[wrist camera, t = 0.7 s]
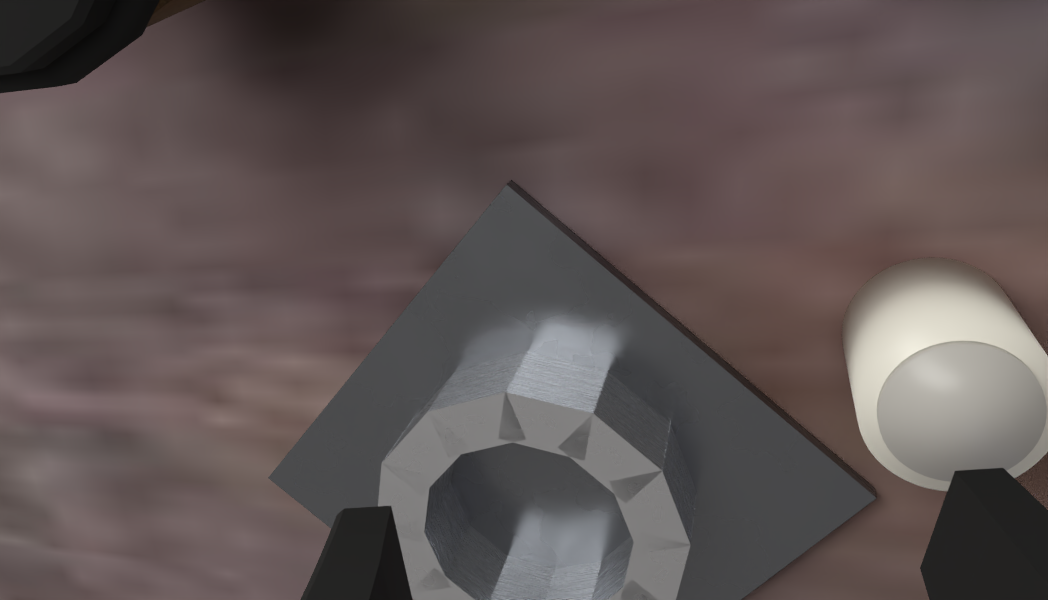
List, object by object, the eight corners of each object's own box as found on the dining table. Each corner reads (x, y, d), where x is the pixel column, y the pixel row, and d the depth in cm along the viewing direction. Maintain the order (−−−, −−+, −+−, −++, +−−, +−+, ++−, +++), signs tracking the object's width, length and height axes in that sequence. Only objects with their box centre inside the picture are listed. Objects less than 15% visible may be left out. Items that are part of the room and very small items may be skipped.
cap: (1053, 331, 27) (1115, 417, 22) (921, 432, 29) (953, 530, 25) (931, 224, 27) (968, 288, 22) (807, 334, 29) (816, 414, 24)
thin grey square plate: (874, 487, 30) (887, 554, 27) (577, 712, 37) (560, 786, 34) (511, 180, 29) (480, 210, 26) (275, 470, 36) (228, 522, 33)
